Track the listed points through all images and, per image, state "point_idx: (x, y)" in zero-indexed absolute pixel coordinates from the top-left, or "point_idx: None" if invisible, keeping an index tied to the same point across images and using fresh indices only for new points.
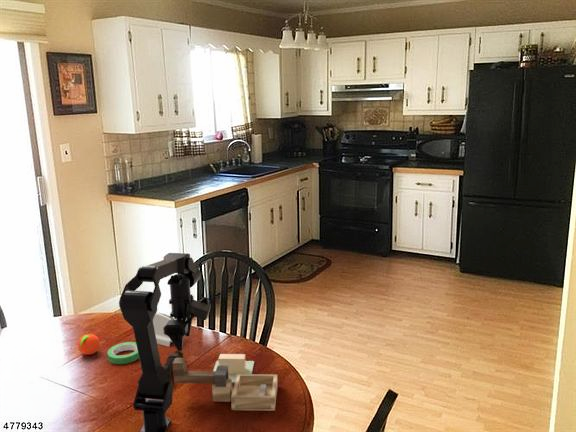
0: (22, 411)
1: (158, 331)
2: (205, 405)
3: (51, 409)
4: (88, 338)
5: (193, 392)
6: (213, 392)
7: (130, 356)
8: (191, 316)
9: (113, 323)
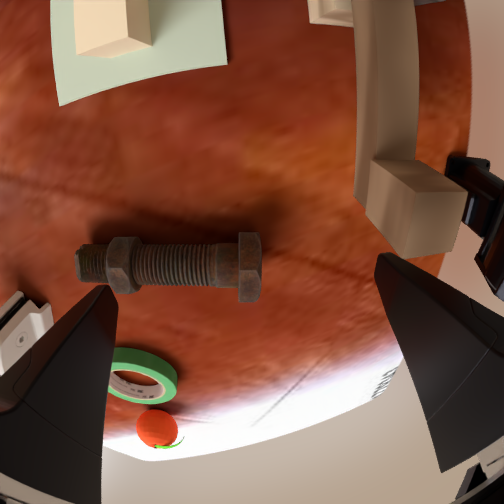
0: (349, 401)
1: None
2: None
3: (352, 383)
4: (163, 443)
5: (308, 111)
6: None
7: (155, 370)
8: (2, 446)
9: None
